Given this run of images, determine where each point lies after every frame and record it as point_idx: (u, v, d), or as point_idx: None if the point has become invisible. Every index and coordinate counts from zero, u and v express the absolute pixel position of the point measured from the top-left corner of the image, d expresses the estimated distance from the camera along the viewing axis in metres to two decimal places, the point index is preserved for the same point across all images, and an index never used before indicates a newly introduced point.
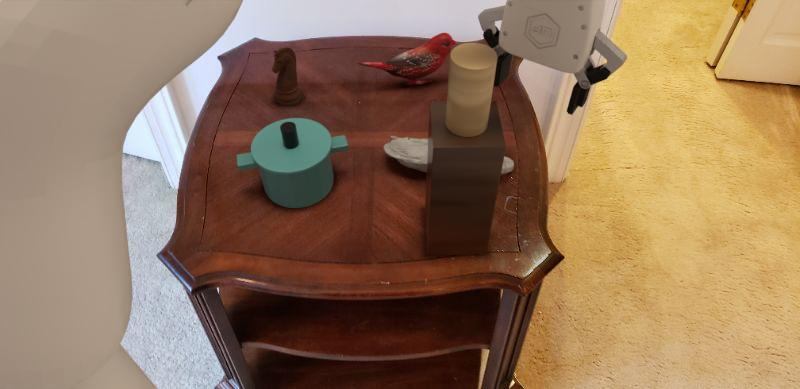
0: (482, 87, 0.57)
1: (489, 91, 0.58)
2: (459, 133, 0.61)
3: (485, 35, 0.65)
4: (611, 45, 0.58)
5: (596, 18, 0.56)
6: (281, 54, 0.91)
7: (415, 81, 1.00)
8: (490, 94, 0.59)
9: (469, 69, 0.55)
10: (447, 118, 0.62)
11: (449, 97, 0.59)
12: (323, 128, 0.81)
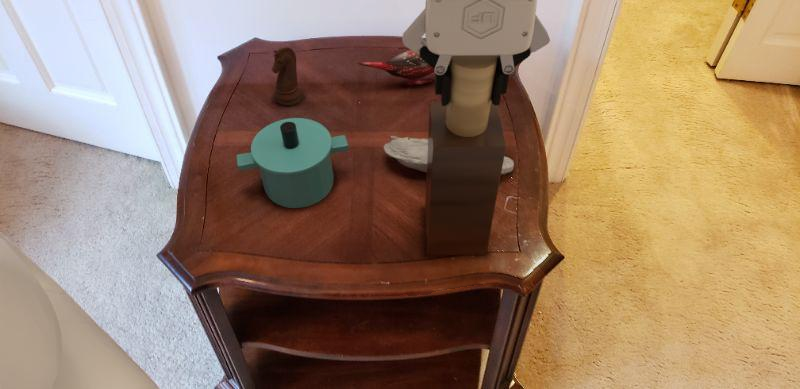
0: (482, 87, 0.57)
1: (489, 91, 0.58)
2: (459, 133, 0.61)
3: (423, 54, 0.55)
4: (539, 22, 0.54)
5: None
6: (281, 54, 0.91)
7: (415, 81, 1.00)
8: (490, 94, 0.59)
9: (469, 69, 0.55)
10: (447, 118, 0.62)
11: (449, 97, 0.59)
12: (323, 128, 0.81)
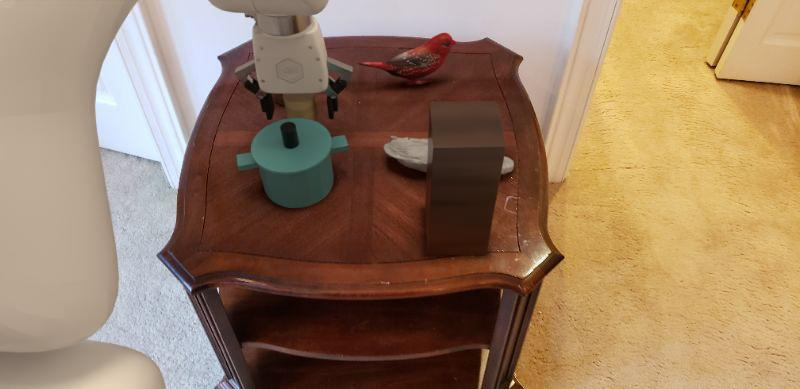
0: (304, 115, 0.85)
1: (312, 117, 0.86)
2: None
3: (246, 85, 0.82)
4: (339, 64, 0.81)
5: (323, 50, 0.77)
6: None
7: (415, 81, 1.00)
8: (314, 119, 0.87)
9: (292, 104, 0.83)
10: None
11: None
12: (323, 128, 0.81)
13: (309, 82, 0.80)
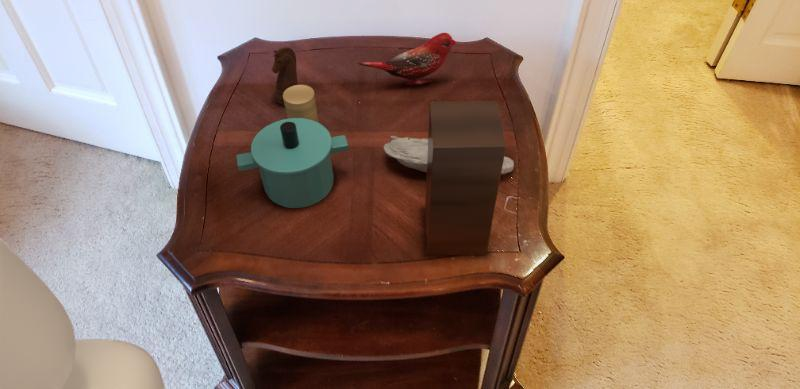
0: (304, 115, 0.85)
1: (312, 117, 0.86)
2: None
3: None
4: None
5: None
6: (281, 54, 0.91)
7: (415, 81, 1.00)
8: (314, 119, 0.87)
9: (292, 104, 0.83)
10: None
11: None
12: (323, 128, 0.81)
13: None
